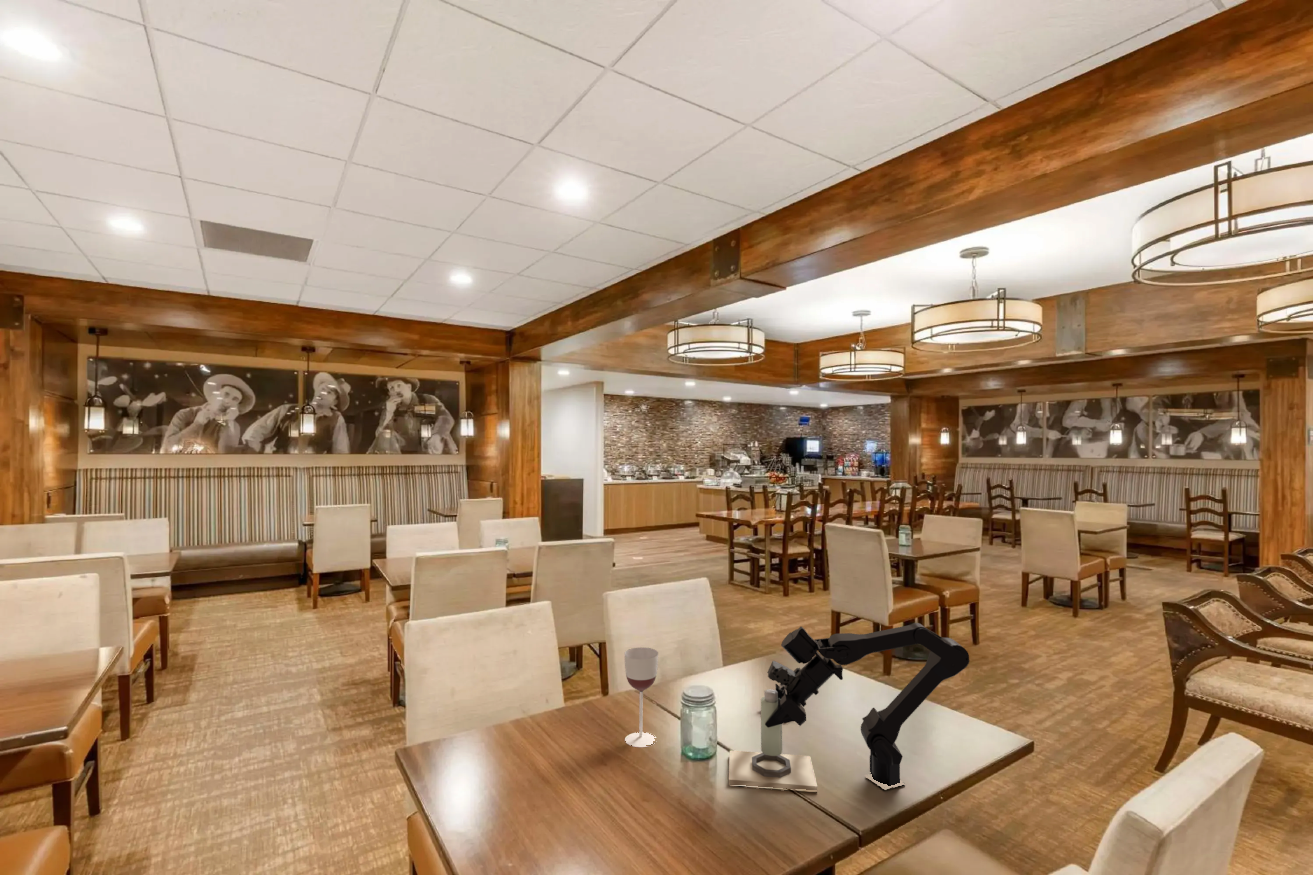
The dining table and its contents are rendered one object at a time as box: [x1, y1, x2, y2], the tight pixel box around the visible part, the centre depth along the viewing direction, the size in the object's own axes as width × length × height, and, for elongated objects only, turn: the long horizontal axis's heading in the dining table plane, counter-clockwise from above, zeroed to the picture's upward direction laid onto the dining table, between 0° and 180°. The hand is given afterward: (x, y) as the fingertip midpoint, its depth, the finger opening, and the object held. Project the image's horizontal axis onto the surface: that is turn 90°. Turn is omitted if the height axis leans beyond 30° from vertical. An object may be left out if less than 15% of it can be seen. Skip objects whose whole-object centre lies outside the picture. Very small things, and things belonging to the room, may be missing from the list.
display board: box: [728, 750, 818, 791], centre depth 144 cm, size 20×14×3 cm
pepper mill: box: [760, 688, 783, 756], centre depth 145 cm, size 5×5×14 cm
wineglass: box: [624, 646, 659, 748], centre depth 162 cm, size 9×10×23 cm
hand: (765, 720), depth 145 cm, fingers closed on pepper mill, 5 cm apart
